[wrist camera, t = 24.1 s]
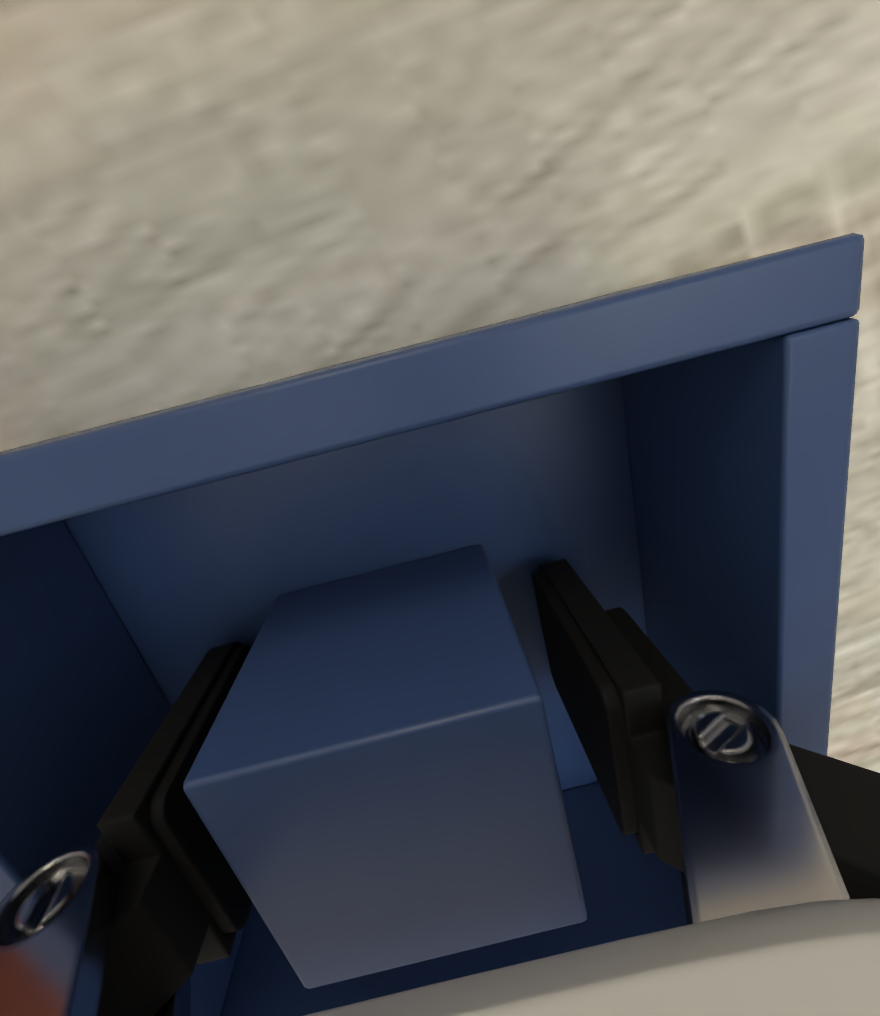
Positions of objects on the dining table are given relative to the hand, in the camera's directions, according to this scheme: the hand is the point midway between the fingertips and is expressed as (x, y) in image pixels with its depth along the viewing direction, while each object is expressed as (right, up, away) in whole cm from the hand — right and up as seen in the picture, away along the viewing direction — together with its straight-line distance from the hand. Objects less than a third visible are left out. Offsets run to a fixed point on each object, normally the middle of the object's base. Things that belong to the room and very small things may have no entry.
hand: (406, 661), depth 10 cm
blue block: (0, 0, 0) cm, 0 cm away
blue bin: (0, 0, +1) cm, 1 cm away
